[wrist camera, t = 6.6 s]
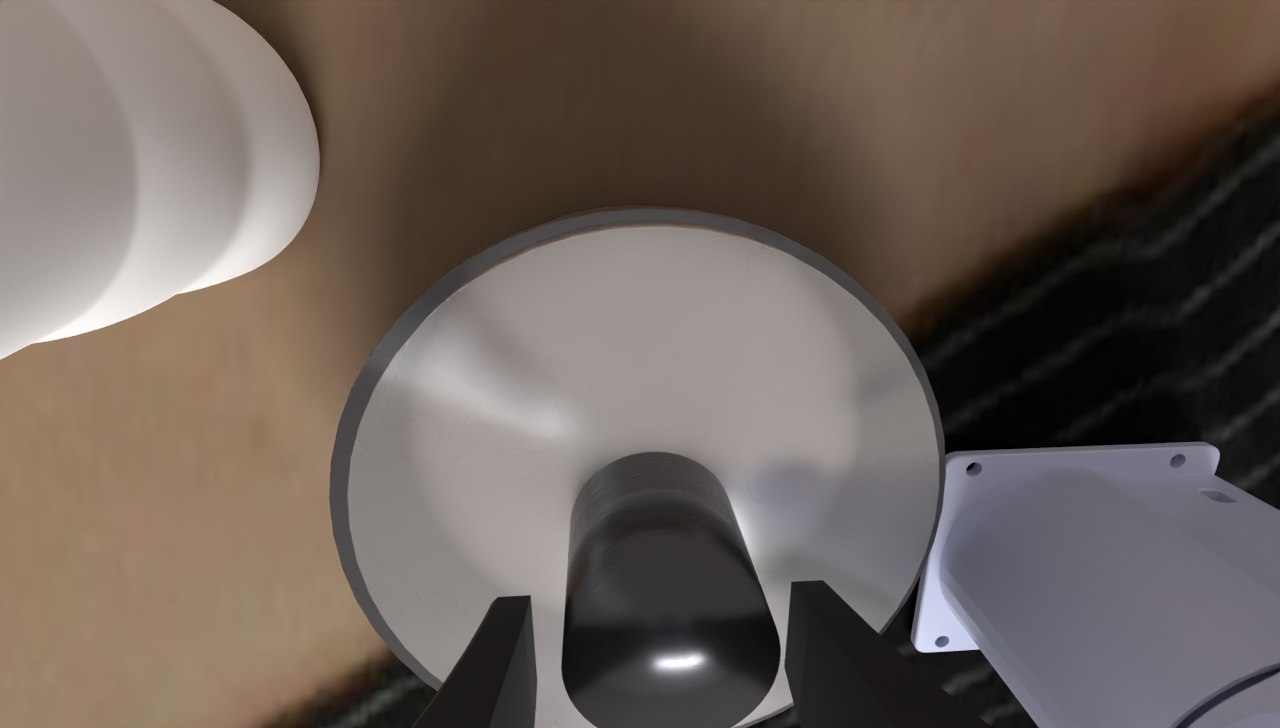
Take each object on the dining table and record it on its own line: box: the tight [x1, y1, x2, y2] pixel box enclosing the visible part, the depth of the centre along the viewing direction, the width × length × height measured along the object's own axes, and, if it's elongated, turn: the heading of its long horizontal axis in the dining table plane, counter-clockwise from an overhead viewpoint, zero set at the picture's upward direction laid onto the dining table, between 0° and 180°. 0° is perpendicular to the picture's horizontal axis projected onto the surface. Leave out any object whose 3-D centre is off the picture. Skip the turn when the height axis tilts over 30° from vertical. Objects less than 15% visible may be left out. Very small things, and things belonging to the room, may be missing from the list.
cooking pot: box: [329, 205, 946, 728], centre depth 18 cm, size 15×15×5 cm
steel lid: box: [347, 219, 939, 728], centre depth 13 cm, size 13×13×5 cm
